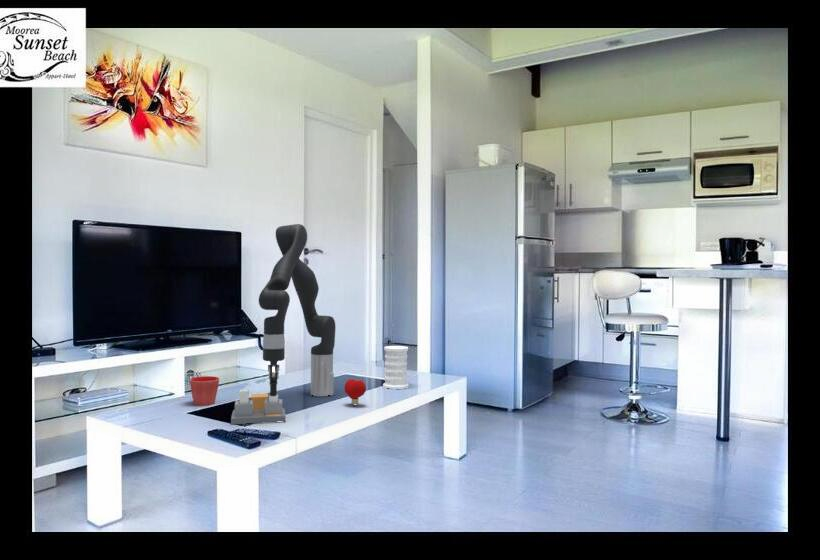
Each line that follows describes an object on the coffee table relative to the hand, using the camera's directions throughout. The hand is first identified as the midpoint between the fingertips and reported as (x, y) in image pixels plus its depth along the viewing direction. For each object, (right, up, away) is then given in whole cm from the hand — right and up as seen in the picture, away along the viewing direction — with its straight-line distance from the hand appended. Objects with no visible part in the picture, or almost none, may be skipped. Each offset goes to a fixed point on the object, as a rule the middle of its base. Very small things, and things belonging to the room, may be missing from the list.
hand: (273, 395), depth 209 cm
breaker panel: (-5, -8, -1) cm, 9 cm away
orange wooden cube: (-8, -8, +12) cm, 16 cm away
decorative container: (+42, -8, +57) cm, 71 cm away
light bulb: (+27, -8, +21) cm, 35 cm away
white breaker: (0, -5, 0) cm, 5 cm away
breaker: (-10, -3, -2) cm, 10 cm away
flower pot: (-32, -8, +21) cm, 39 cm away
